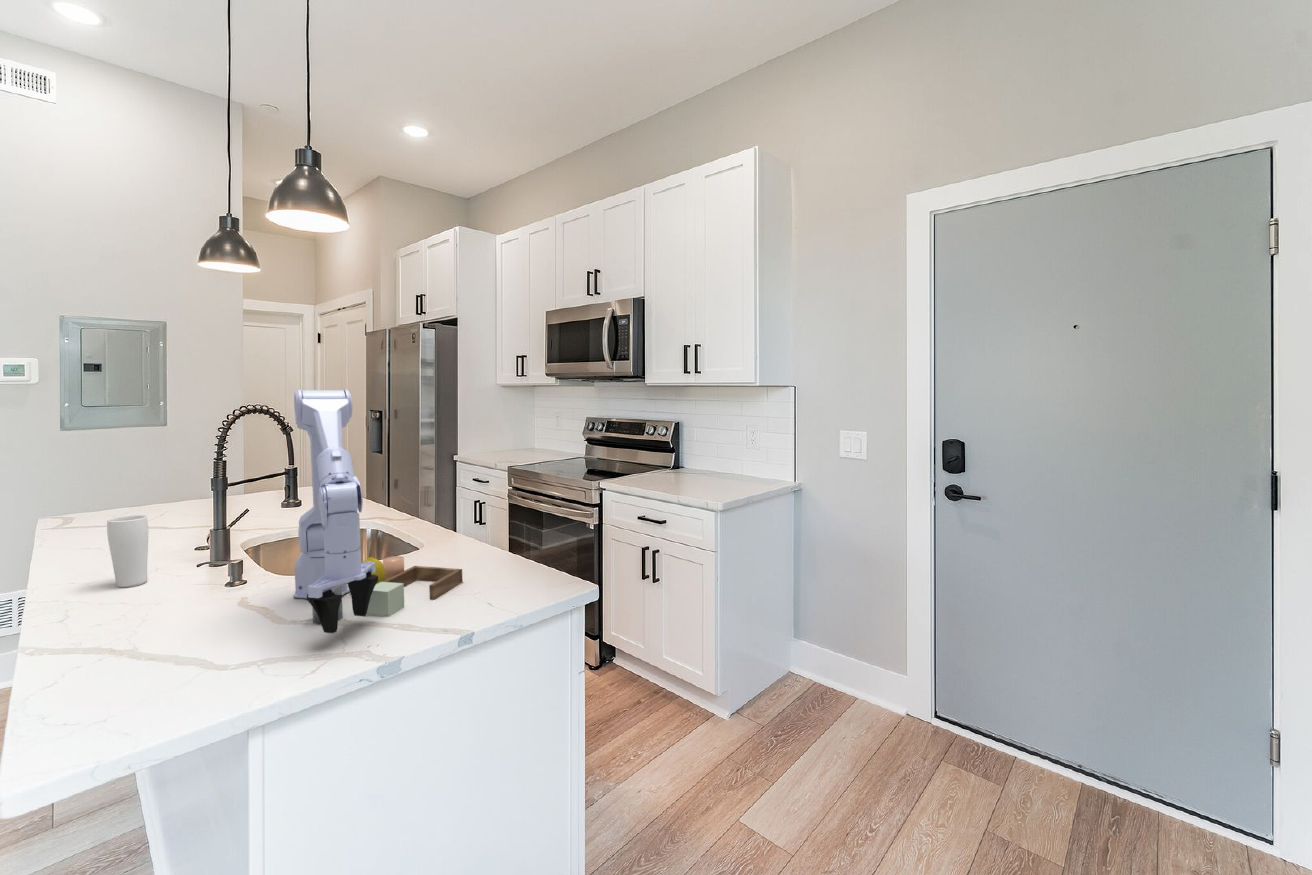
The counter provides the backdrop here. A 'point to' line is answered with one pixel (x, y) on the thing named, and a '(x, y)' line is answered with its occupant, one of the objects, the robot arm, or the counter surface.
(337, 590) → the can
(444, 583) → the corral
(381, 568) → the lemon
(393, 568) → the peach rounded cylinder
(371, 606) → the block
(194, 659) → the counter surface
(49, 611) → the counter surface
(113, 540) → the drinking glass
